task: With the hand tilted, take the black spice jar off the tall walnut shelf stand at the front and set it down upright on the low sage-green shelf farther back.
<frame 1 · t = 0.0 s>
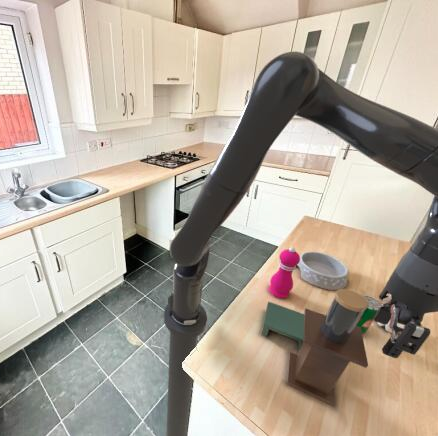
hand: (383, 337, 50), 21 cm above the counter, tool pointing down, fingers open, 8 cm apart
water bottle: (388, 326, 76), on the counter
low shelf: (283, 331, 75), on the counter
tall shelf: (309, 378, 63), on the counter
dog bowl: (318, 273, 97), on the counter
spice jar: (333, 333, 54), point 18 cm above the counter, touching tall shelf
pepper mill: (278, 292, 89), on the counter
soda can: (354, 328, 75), on the counter
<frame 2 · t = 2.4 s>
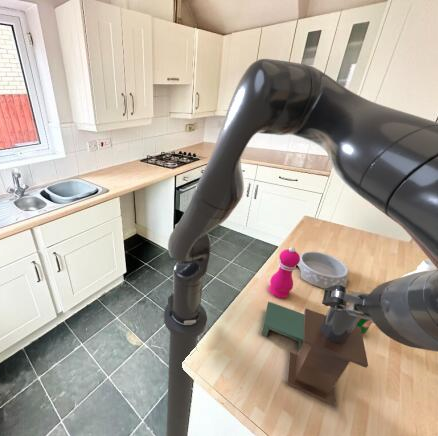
hand: (369, 315, 39), 35 cm above the counter, tool tilted 45°, fingers open, 8 cm apart
nothing on the counter moved.
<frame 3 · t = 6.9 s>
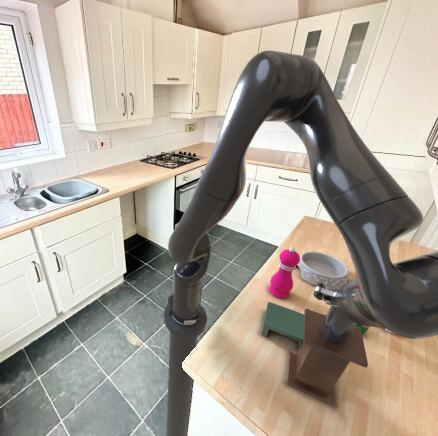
hand: (345, 305, 52), 25 cm above the counter, tool tilted 45°, fingers closed on spice jar, 5 cm apart
spice jar: (333, 333, 54), point 18 cm above the counter, touching gripper, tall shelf
everything else where it was.
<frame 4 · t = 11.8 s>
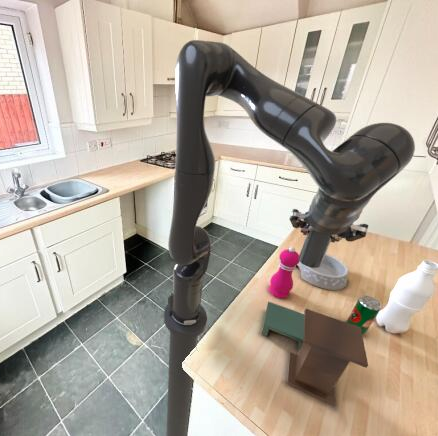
hand: (318, 234, 60), 34 cm above the counter, tool tilted 45°, fingers closed on spice jar, 5 cm apart
spice jar: (309, 261, 62), point 27 cm above the counter, touching gripper
everything else where it was.
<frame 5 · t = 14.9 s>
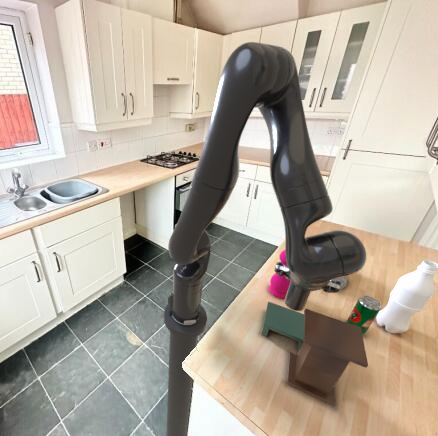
hand: (301, 281, 67), 19 cm above the counter, tool tilted 45°, fingers closed on spice jar, 5 cm apart
spice jar: (294, 304, 69), point 12 cm above the counter, touching gripper
everything else where it was.
when the fingers open (12 cm above the counter, at t = 17.0 s): spice jar stays where it is, resting on low shelf.
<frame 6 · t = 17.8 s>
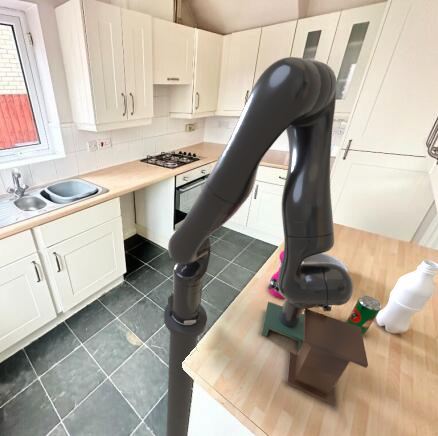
hand: (295, 296, 69), 14 cm above the counter, tool tilted 45°, fingers open, 8 cm apart
spice jar: (287, 320, 72), point 5 cm above the counter, touching low shelf
everything else where it was.
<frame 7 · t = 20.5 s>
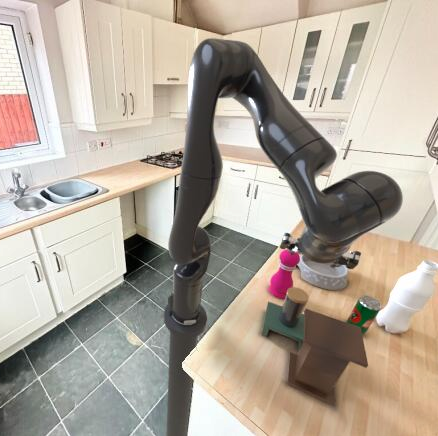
hand: (312, 257, 59), 30 cm above the counter, tool tilted 45°, fingers open, 8 cm apart
nothing on the counter moved.
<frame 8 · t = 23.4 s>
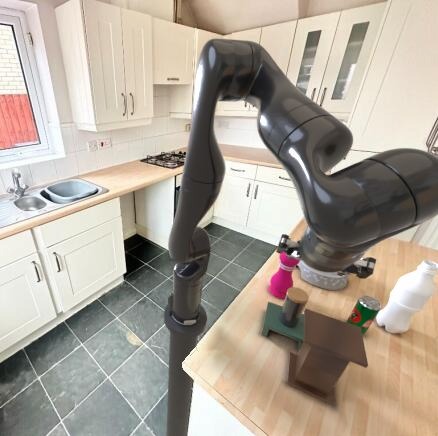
hand: (314, 263, 50), 35 cm above the counter, tool tilted 45°, fingers open, 8 cm apart
nothing on the counter moved.
at the end: spice jar inside the target area on the low shelf (0.1 cm from its centre), point 5.0 cm above the low shelf's base; spice jar tilted 0°; the gripper is holding nothing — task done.
